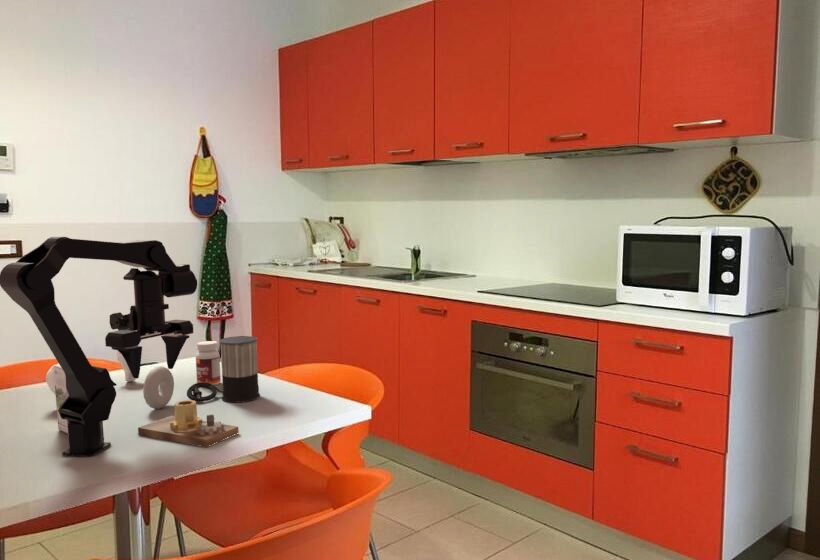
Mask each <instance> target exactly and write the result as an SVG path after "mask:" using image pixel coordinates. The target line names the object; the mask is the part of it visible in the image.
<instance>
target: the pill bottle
mask: <svg viewBox="0 0 820 560" xmlns="http://www.w3.org/2000/svg"><path fill="white" fill-rule="evenodd" d="M196 345H197V349H196V350H197V351H198V352H196V354H195V369H196V370H195V371H196V372H195V373H196V383H200V382H205V383H209V384H212V385H214V386H218V385H219V384H221V382H222V381H221V378H222V377H221V359H220V358H221V357H220V355H221V354H220V352H219V351H218V350H217V349H218V341H215V340H206V341H205V340H204V341H200V342H197V343H196Z"/></svg>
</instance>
